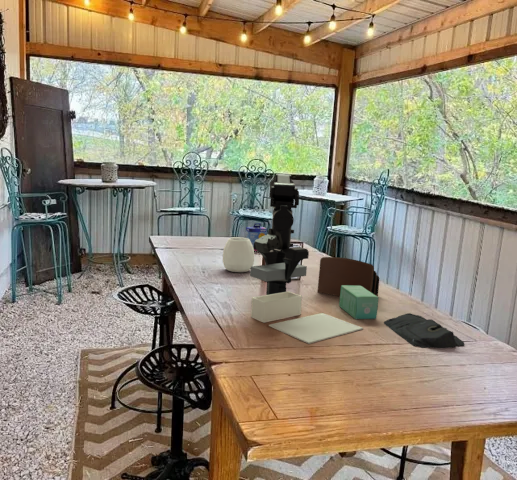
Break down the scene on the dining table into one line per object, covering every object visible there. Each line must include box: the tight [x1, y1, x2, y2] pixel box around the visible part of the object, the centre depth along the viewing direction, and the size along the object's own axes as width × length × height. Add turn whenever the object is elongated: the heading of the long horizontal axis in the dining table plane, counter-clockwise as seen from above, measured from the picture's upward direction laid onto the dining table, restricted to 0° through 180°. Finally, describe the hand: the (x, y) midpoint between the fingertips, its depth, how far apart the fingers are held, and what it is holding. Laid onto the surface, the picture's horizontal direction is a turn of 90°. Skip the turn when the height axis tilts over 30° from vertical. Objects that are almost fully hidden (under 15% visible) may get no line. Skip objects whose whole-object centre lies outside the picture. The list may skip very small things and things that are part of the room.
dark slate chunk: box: [383, 312, 465, 349], centre depth 143 cm, size 15×22×5 cm
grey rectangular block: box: [249, 263, 308, 283], centre depth 150 cm, size 7×16×3 cm, turn 129°
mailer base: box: [250, 291, 303, 324], centre depth 152 cm, size 6×15×6 cm, turn 129°
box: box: [338, 285, 379, 320], centre depth 160 cm, size 7×14×8 cm, turn 13°
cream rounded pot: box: [222, 236, 255, 273], centre depth 209 cm, size 13×13×14 cm
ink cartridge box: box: [245, 223, 268, 251], centre depth 255 cm, size 10×6×14 cm, turn 112°
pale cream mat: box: [268, 312, 364, 345], centre depth 144 cm, size 16×22×1 cm
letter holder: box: [317, 256, 380, 297], centre depth 181 cm, size 10×20×14 cm, turn 61°
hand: (278, 277), depth 150 cm, fingers closed on grey rectangular block, 7 cm apart
